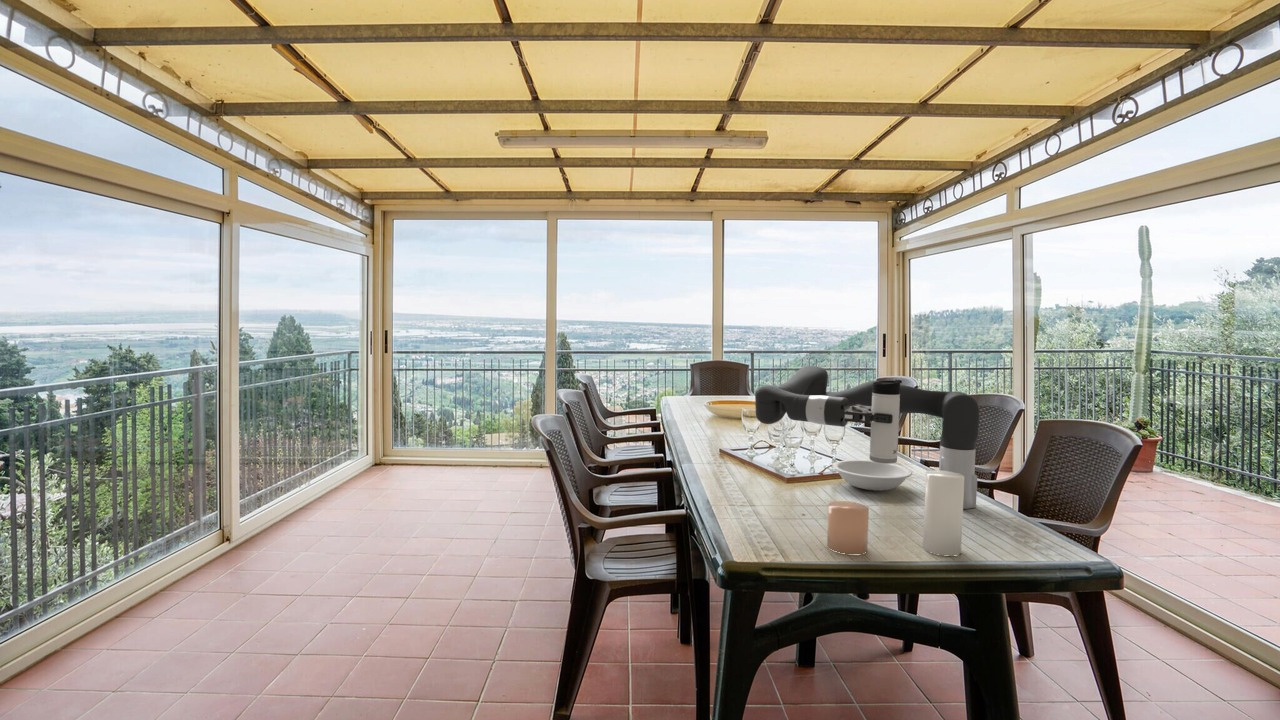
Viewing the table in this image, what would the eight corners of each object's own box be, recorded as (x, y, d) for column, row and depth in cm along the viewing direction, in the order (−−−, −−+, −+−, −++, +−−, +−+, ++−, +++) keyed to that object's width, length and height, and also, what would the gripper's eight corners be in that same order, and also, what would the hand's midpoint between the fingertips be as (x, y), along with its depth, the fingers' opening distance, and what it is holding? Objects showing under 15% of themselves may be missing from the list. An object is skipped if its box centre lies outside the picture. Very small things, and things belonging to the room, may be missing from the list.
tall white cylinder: (952, 544, 142) (955, 471, 141) (967, 557, 134) (970, 479, 133) (917, 542, 143) (920, 469, 141) (930, 555, 135) (933, 478, 134)
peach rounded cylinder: (861, 542, 143) (863, 501, 142) (871, 556, 134) (873, 513, 133) (823, 540, 144) (824, 500, 143) (831, 554, 135) (832, 511, 134)
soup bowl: (917, 486, 194) (918, 466, 194) (903, 503, 174) (904, 481, 174) (843, 474, 208) (844, 456, 207) (822, 490, 188) (823, 469, 187)
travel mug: (902, 464, 141) (906, 381, 140) (875, 463, 141) (878, 380, 140) (892, 458, 147) (895, 378, 146) (865, 457, 148) (868, 378, 146)
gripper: (818, 398, 146) (889, 405, 136) (837, 393, 158) (903, 399, 148) (817, 428, 147) (887, 437, 137) (836, 421, 158) (902, 428, 148)
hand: (895, 417), depth 142 cm, fingers closed on travel mug, 6 cm apart
